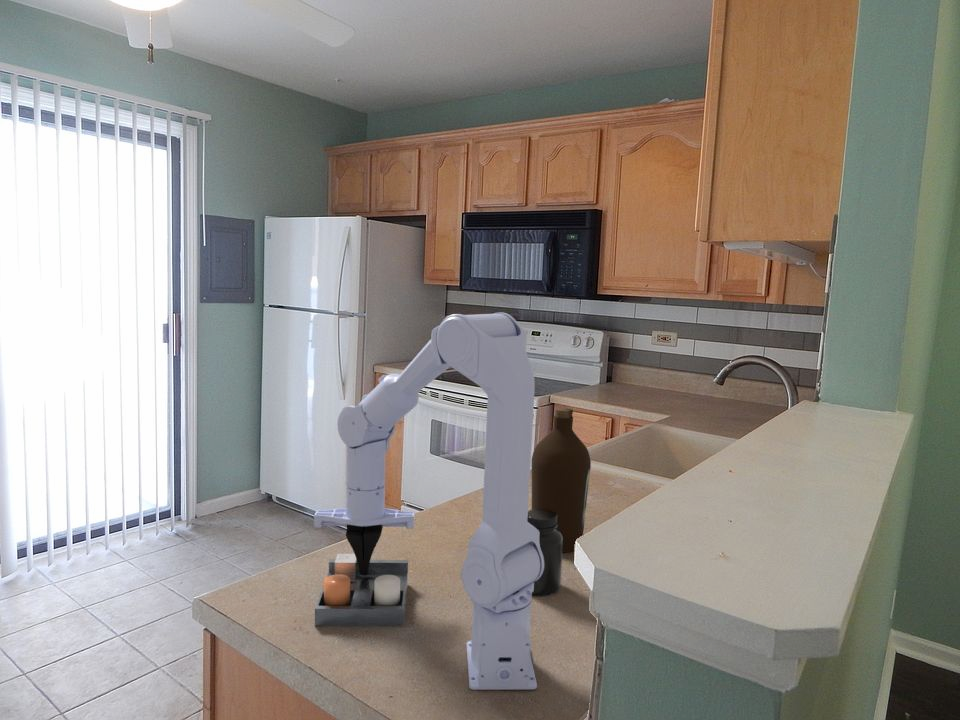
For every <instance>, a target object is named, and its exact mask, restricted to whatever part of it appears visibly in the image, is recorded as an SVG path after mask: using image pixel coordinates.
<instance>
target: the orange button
mask: <svg viewBox="0 0 960 720" xmlns="http://www.w3.org/2000/svg"><path fill="white" fill-rule="evenodd" d="M326 577H327V576H326ZM326 577H325V578H324V579H323V585H324V604H325V605H327V606H344V605H346V604H348V603H349V601H350V578H349V577H348V576H346V575H341V574H337V575H331V576H328V577H327V578H326Z"/></svg>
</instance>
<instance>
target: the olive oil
mask: <svg viewBox="0 0 960 720" xmlns="http://www.w3.org/2000/svg"><path fill="white" fill-rule="evenodd" d="M573 413H574V409H573V408H570V407H565V406H564V407H563V406H562V407H561V406H560V407H559V406H558V407H555V409H554V416H553V427H552V430H550V431H549V433H548V434H547V435H545V436H544V437H543V438H542V439H541V440H540V441H539V442H537V444H536V446H535V448H534V449H533V452H532V454H531V510H532V509H547V510H551V511H553V512H555V513H556V514H557V528H556V529H558V530H559V531H560V533H561V535H562V537H563V546H562V553H571V552H575V551H574V544H575V541H576V539H577V538H579V537H580V536H582V535H583V536H584V530H585V522H586V521H585V520H586V519H585V518H586V511H587V501H588V494H589V483H590V477H591V476H590V475H591V468H592V467H591V466H592V465H591V464H592V461H591V455H590V453H589V450H588V448H587V447H586V445H585V443H584V442H582V440H581V438H579V436H578V435H577V434H576V432H575V431H574V430H573V424H574V423H573V422H574V416H573Z"/></svg>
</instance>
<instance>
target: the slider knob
mask: <svg viewBox="0 0 960 720" xmlns="http://www.w3.org/2000/svg"><path fill="white" fill-rule="evenodd" d="M335 559H336V560H335V575H337V574H341V575H346V576H348V577H349V578H350V582H355V580H356V577H357V573H358V563H357V559H356V556H355V554H354V553H337V555H336V558H335Z"/></svg>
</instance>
